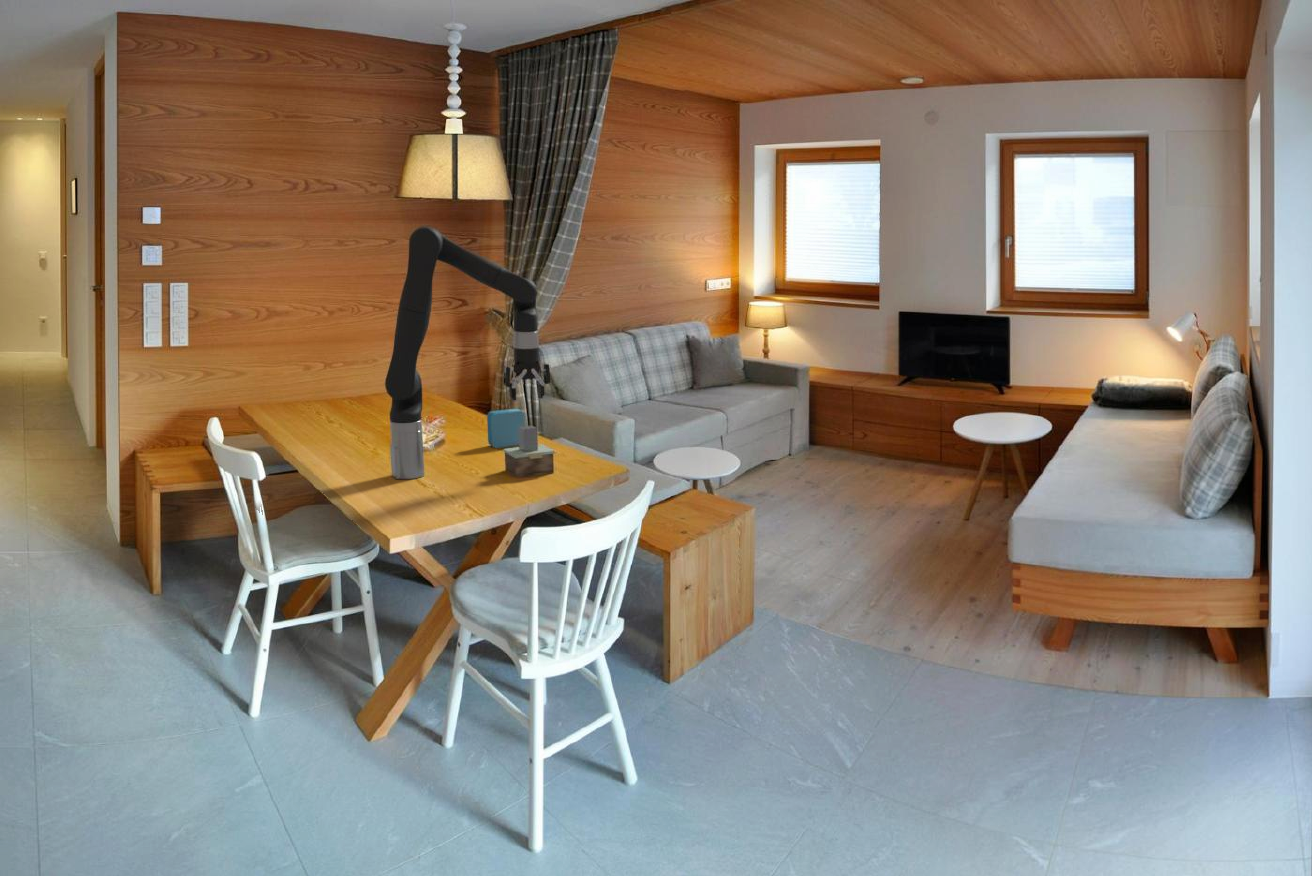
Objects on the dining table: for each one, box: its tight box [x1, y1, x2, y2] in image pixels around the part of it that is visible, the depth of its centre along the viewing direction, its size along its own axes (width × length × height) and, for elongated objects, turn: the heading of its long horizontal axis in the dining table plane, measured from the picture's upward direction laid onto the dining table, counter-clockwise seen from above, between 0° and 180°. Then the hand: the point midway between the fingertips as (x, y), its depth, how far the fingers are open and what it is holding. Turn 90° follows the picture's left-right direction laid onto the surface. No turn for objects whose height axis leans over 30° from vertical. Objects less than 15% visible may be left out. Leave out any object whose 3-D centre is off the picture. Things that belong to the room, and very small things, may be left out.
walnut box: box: [504, 452, 555, 479], centre depth 323 cm, size 12×10×6 cm
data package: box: [486, 408, 526, 449], centre depth 357 cm, size 12×4×12 cm, turn 117°
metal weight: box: [518, 425, 539, 452], centre depth 321 cm, size 4×4×7 cm
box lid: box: [503, 443, 556, 459], centre depth 321 cm, size 13×11×2 cm
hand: (527, 399), depth 318 cm, fingers open, 8 cm apart
